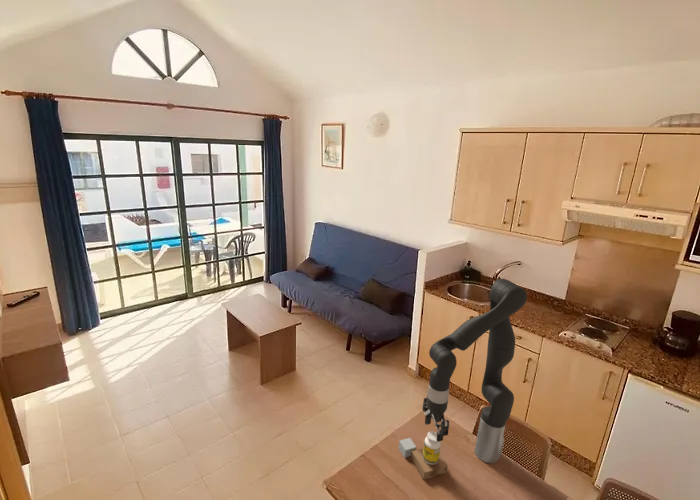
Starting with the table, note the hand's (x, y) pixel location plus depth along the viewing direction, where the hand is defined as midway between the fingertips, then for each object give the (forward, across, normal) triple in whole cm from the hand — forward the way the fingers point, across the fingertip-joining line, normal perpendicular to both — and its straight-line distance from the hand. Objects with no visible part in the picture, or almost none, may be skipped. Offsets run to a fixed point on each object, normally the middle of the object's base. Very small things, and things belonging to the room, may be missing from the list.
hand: (433, 431), depth 137 cm
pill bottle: (+13, 0, 0) cm, 13 cm away
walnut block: (+16, 0, 0) cm, 16 cm away
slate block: (+16, +8, +5) cm, 19 cm away
